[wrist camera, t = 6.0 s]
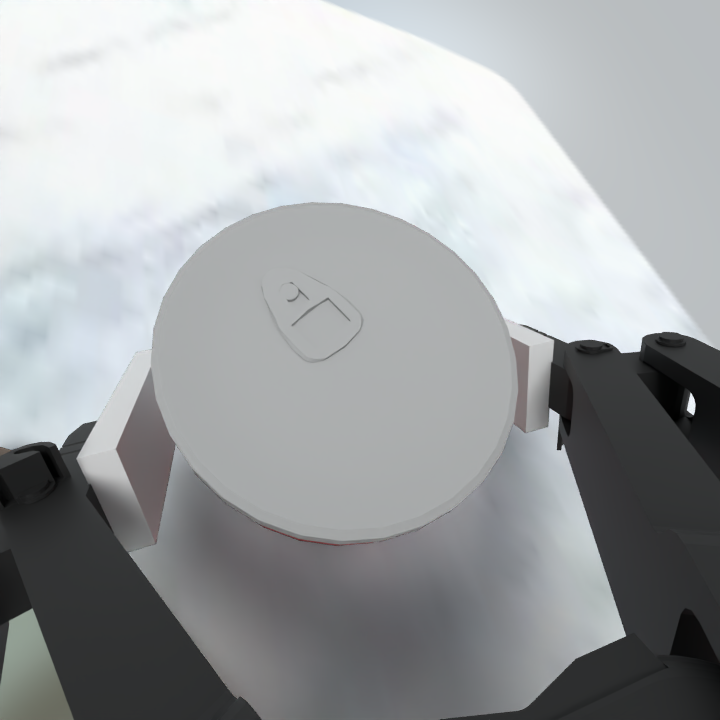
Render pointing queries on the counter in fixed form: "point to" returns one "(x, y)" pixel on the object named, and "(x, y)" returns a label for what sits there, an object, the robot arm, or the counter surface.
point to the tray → (30, 673)
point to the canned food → (334, 372)
